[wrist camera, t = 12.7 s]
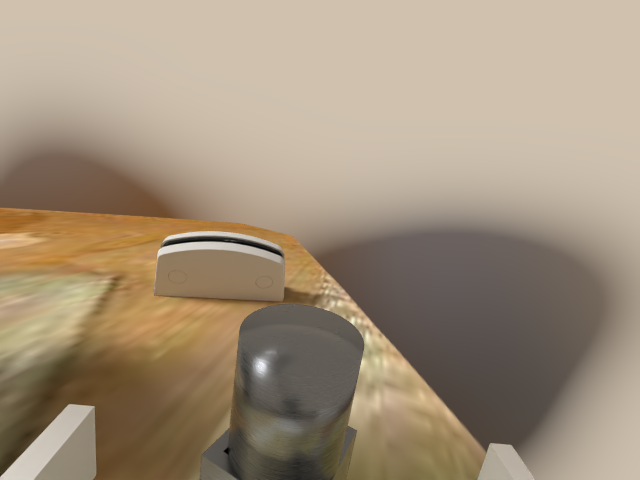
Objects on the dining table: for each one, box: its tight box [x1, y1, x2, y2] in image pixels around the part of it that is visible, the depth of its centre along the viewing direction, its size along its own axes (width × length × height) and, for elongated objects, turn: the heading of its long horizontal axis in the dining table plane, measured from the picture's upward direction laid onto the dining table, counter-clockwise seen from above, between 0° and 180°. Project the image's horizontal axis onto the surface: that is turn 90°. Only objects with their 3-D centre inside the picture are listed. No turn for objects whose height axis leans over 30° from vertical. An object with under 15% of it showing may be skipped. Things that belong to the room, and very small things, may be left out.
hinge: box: [154, 231, 285, 302], centre depth 43 cm, size 17×5×10 cm, turn 101°
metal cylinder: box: [200, 304, 364, 480], centre depth 14 cm, size 5×5×10 cm
